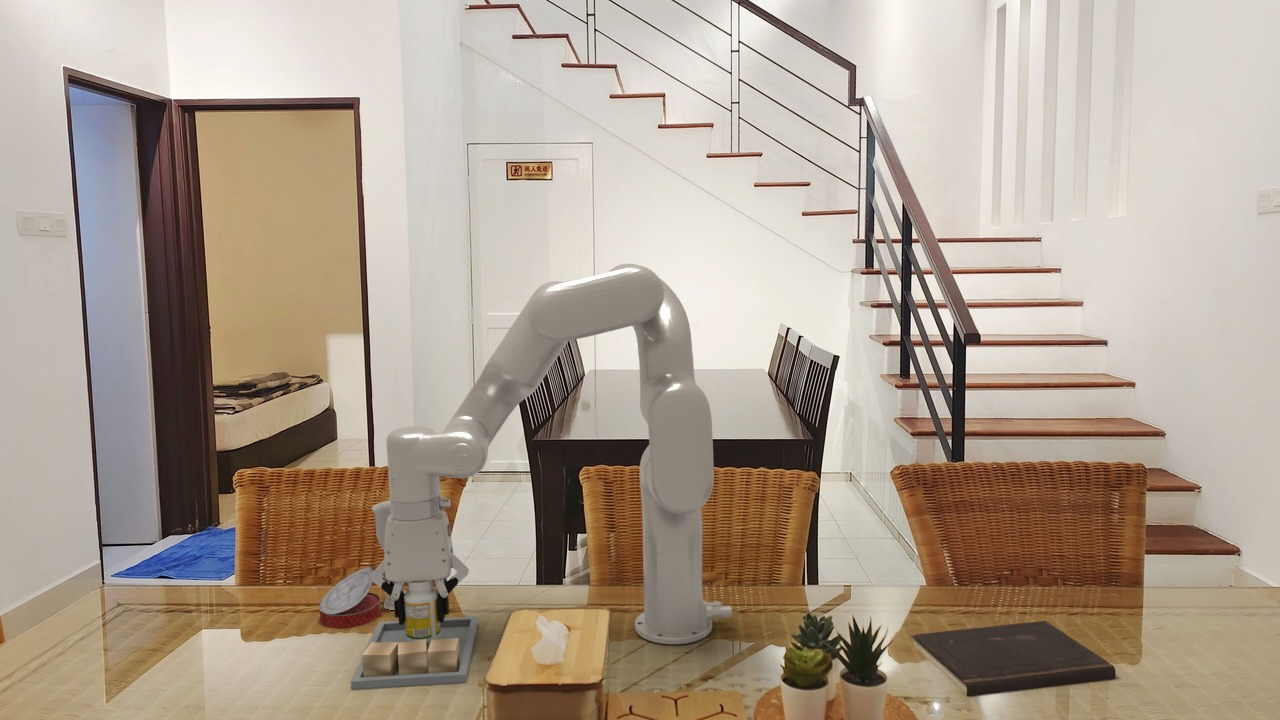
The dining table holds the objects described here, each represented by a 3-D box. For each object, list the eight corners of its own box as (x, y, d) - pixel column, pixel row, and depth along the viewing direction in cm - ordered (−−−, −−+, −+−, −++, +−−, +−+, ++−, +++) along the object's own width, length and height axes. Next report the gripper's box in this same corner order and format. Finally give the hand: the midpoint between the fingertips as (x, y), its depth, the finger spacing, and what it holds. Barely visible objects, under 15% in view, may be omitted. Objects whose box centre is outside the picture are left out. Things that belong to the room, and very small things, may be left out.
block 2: (427, 664, 132) (425, 639, 131) (427, 676, 128) (426, 650, 128) (399, 668, 131) (398, 642, 130) (399, 680, 127) (397, 654, 127)
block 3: (459, 663, 132) (458, 638, 131) (456, 676, 128) (455, 650, 128) (432, 665, 132) (431, 639, 131) (428, 678, 128) (427, 651, 127)
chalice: (406, 614, 151) (400, 513, 149) (369, 611, 153) (363, 511, 150) (424, 597, 158) (419, 500, 156) (390, 595, 160) (384, 499, 157)
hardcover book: (911, 648, 137) (911, 634, 136) (1044, 634, 141) (1045, 620, 140) (967, 700, 121) (967, 684, 121) (1115, 682, 125) (1116, 667, 125)
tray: (478, 626, 146) (477, 616, 146) (465, 686, 126) (465, 674, 126) (379, 632, 145) (379, 621, 144) (351, 693, 125) (350, 681, 125)
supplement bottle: (419, 647, 134) (416, 587, 133) (399, 638, 138) (395, 579, 137) (448, 635, 139) (444, 576, 137) (427, 626, 142) (424, 569, 141)
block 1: (399, 667, 131) (398, 642, 130) (391, 681, 127) (389, 654, 126) (373, 667, 131) (371, 642, 131) (363, 681, 127) (362, 654, 127)
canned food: (373, 652, 148) (366, 614, 142) (313, 646, 148) (304, 608, 142) (392, 598, 157) (387, 560, 151) (336, 593, 157) (328, 555, 151)
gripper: (474, 498, 140) (480, 606, 142) (364, 503, 138) (371, 613, 141) (469, 512, 132) (475, 626, 135) (353, 518, 131) (361, 634, 133)
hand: (422, 618), depth 138 cm, fingers closed on supplement bottle, 5 cm apart
